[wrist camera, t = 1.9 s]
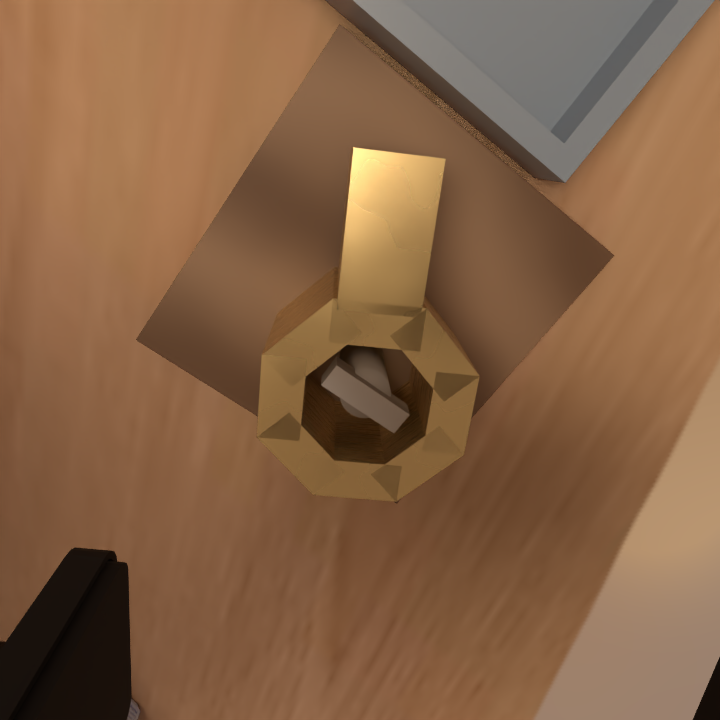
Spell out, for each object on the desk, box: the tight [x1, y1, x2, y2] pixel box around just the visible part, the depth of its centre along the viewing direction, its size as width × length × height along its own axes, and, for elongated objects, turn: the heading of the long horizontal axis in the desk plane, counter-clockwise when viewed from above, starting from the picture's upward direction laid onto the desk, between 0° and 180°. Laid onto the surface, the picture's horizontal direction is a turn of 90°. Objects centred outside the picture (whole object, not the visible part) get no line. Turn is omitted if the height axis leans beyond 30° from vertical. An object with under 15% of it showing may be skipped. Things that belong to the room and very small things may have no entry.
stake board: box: [136, 25, 614, 503], centre depth 20 cm, size 13×12×5 cm
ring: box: [257, 147, 480, 502], centre depth 19 cm, size 10×6×4 cm, turn 173°
